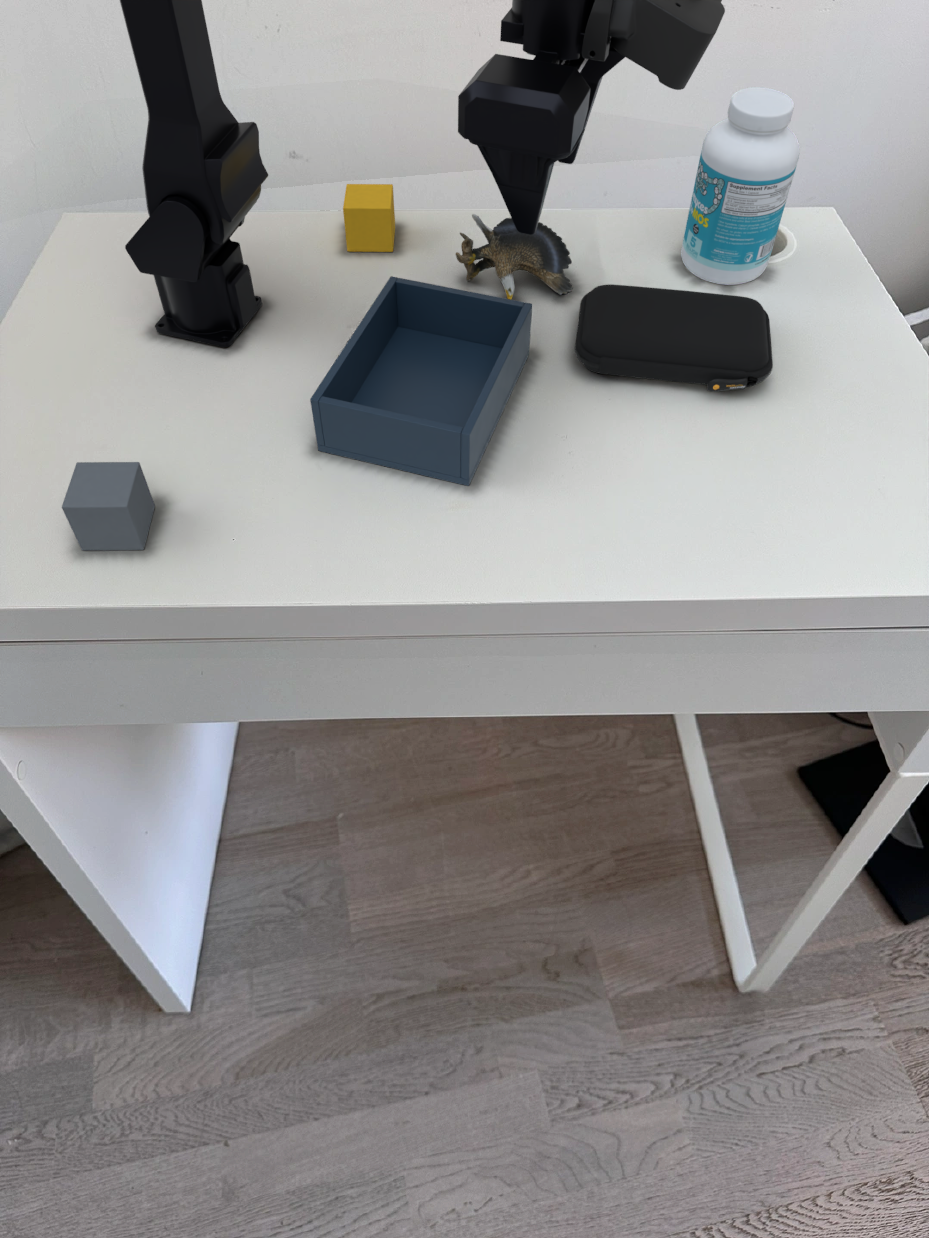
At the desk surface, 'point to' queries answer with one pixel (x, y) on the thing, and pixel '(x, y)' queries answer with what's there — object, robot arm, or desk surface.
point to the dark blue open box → (423, 379)
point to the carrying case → (674, 336)
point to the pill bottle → (741, 188)
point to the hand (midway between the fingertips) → (546, 196)
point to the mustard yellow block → (369, 217)
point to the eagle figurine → (518, 255)
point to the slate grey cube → (109, 506)
